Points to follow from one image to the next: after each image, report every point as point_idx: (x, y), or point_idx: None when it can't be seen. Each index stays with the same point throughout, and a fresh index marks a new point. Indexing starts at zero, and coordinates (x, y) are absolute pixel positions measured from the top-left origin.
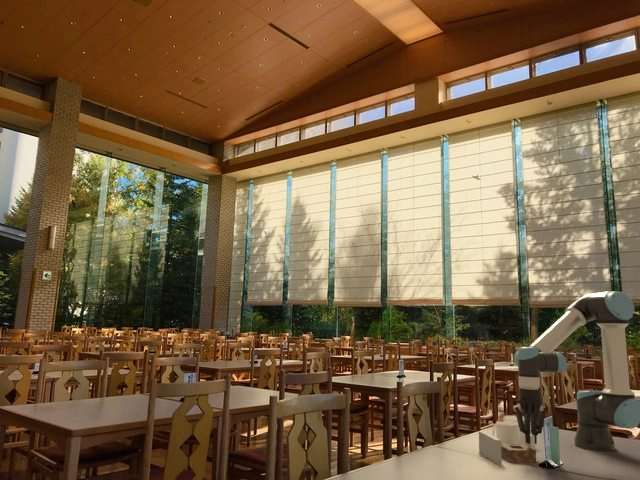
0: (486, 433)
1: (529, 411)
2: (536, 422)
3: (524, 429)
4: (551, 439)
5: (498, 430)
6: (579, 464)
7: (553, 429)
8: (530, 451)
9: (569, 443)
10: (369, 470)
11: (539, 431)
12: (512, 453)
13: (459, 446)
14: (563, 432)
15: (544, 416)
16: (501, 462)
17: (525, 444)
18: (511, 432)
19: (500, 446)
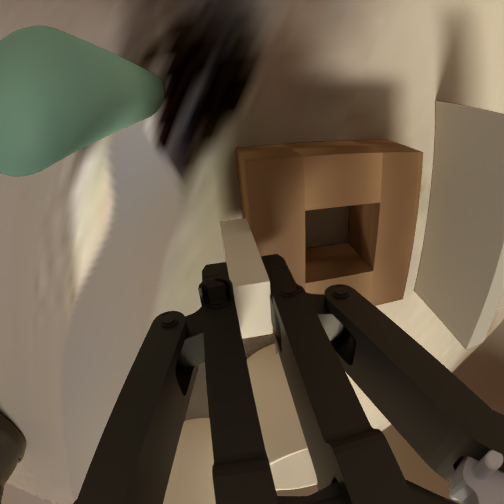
0: (491, 299)
1: (371, 497)
2: (211, 393)
3: (346, 305)
4: (127, 70)
5: None
6: None
7: (63, 32)
8: (285, 156)
9: (39, 449)
10: None
11: (176, 322)
12: (396, 148)
13: (436, 352)
14: (63, 499)
15: (90, 468)
16: (439, 101)
17: (183, 427)
18: None
19: (496, 113)
